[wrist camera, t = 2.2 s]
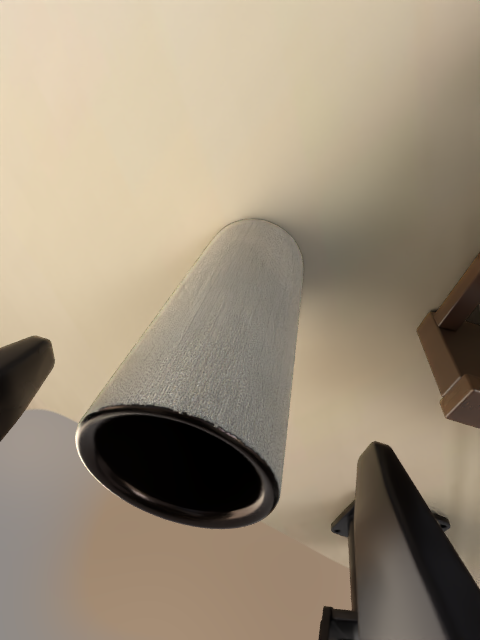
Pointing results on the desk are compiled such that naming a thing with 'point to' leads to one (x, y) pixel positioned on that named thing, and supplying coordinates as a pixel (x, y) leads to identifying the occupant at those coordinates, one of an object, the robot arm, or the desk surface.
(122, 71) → the desk surface
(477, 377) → the rack
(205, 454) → the grey hollow cylinder
